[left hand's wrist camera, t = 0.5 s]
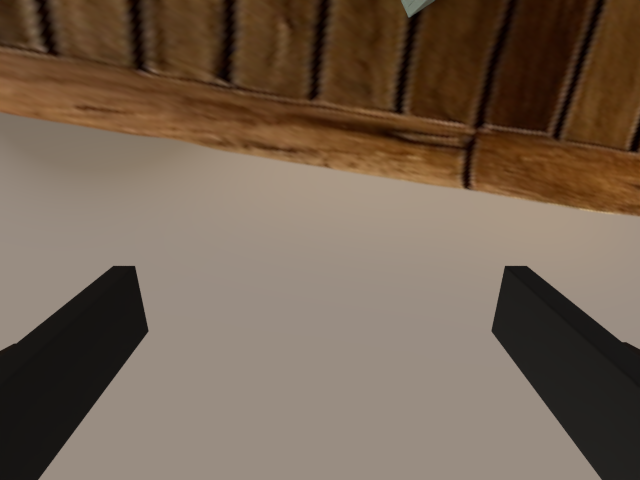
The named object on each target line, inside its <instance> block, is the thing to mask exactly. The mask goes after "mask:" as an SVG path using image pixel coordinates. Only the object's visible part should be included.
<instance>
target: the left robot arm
mask: <svg viewBox="0 0 640 480" xmlns="http://www.w3.org/2000/svg"><path fill="white" fill-rule="evenodd" d="M147 333H148V326H147V322H146V317H145V312H144V307H143V302H142V298H141V293H140V288H139V283H138V278H137V274H136V269H135V266H113V267H112V268H110V269H109V270H108V271H106V272H105V273H104V274H103V275H101V276H100V277H99V278H98V279H97V280H95V281H94V282H93V283H92V284H90V285H89V286H88V287H86V288H85V289H84V290H83V291H82V292H80V293H79V294H78V295H77V296H75V297H74V298H73V299H71V300H70V301H69V302H68V303H66V304H65V305H64V306H63V307H62V308H60V309H59V310H58V311H57V312H55V313H54V314H53V315H51V316H50V317H49V318H48V319H47V320H45V321H44V322H43V323H41V324H40V325H39V326H38V327H37V328H35V329H34V330H33V331H32V332H30V333H29V334H28V335H27V336H25V337H24V338H23V339H22V340H20V341H19V342H18V343H17V344H13V345H11V346H9V347H7V348H5V349H3V350H1V351H0V480H38V479H39V478H40V476H41V475H42V474H43V472H44V471H45V470H46V468H47V467H48V466H49V464H50V463H51V462H52V460H53V459H54V458H55V456H56V455H57V453H58V452H59V451H60V450H61V448H62V447H63V446H64V444H65V443H66V441H67V440H68V439H69V437H70V436H71V435H72V433H73V432H74V431H75V429H76V428H77V427H78V425H79V424H80V423H81V421H82V420H83V419H84V417H85V416H86V415H87V413H88V412H89V411H90V409H91V408H92V407H93V405H94V404H95V403H96V401H97V400H98V398H99V397H100V396H101V394H102V393H103V392H104V390H105V389H106V388H107V386H108V385H109V384H110V382H111V381H112V380H113V378H114V377H115V376H116V374H117V373H118V372H119V370H120V369H121V367H122V366H123V365H124V364H125V362H126V361H127V359H128V358H129V357H130V355H131V354H132V353H133V351H134V350H135V349H136V347H137V346H138V345H139V343H140V342H141V341H142V339H143V338H144V337H145V335H146V334H147ZM492 333H493V334H494V335H495V337H496V338H497V339H498V341H499V342H500V343H501V345H502V346H503V347H504V349H505V350H506V351H507V353H508V354H509V355H510V357H511V358H512V359H513V361H514V362H515V363H516V365H517V366H518V368H519V369H520V370H521V372H522V373H523V374H524V376H525V377H526V378H527V380H528V381H529V382H530V384H531V385H532V386H533V388H534V389H535V390H536V392H537V393H538V394H539V396H540V397H541V398H542V400H543V401H544V403H545V404H546V405H547V406H548V408H549V409H550V411H551V412H552V413H553V415H554V416H555V417H556V418H557V420H558V421H559V423H560V424H561V425H562V427H563V428H564V429H565V431H566V432H567V433H568V435H569V436H570V437H571V439H572V440H573V441H574V443H575V444H576V446H577V447H578V448H579V450H580V451H581V452H582V454H583V455H584V456H585V458H586V459H587V460H588V462H589V463H590V464H591V466H592V467H593V468H594V470H595V471H596V472H597V474H598V475H599V476H600V478H601V479H602V480H640V349H638V348H636V347H634V346H632V345H630V344H628V343H626V342H621V341H620V340H618V339H617V338H616V337H615V336H613V335H612V334H611V333H610V332H608V331H607V330H606V329H605V328H603V327H602V326H601V325H600V324H599V323H597V322H596V321H595V320H594V319H592V318H591V317H590V316H588V315H587V314H586V313H585V312H583V311H582V310H581V309H580V308H579V307H577V306H576V305H575V304H573V303H572V302H571V301H570V300H568V299H567V298H566V297H565V296H564V295H562V294H561V293H560V292H559V291H557V290H556V289H555V288H553V287H552V286H551V285H550V284H549V283H547V282H546V281H545V280H544V279H542V278H541V277H540V276H538V275H537V274H536V273H535V272H533V271H532V270H531V269H530V268H528V267H527V266H505V269H504V274H503V278H502V283H501V288H500V293H499V297H498V302H497V307H496V312H495V317H494V321H493V326H492Z"/></svg>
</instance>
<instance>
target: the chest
mask: <svg viewBox="0 0 640 480" xmlns="http://www.w3.org/2000/svg"><path fill="white" fill-rule="evenodd" d="M401 1H402V3H403V6H404V8H405V10H406V12H407V15H408V17H411V16H412V15H414V14H415V13H417V12H418V11H420V10H421V9H423V8H424V7H426V6H427V5H429V4H430V3H432V2H433V1H435V0H401Z"/></svg>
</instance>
